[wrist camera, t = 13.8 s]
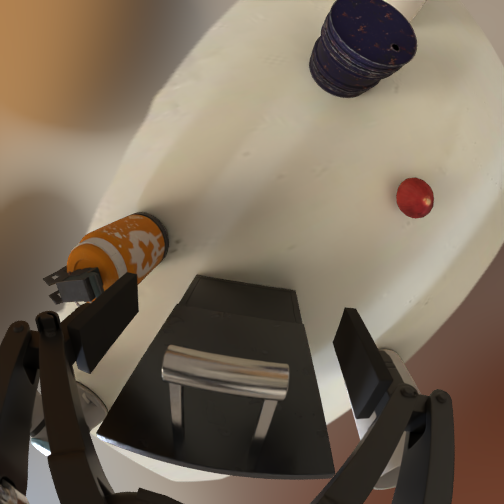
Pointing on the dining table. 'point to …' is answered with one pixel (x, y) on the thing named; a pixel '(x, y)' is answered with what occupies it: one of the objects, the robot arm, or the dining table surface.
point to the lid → (225, 399)
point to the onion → (415, 198)
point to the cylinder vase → (393, 466)
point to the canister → (110, 258)
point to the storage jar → (360, 46)
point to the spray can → (407, 7)
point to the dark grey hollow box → (243, 299)
